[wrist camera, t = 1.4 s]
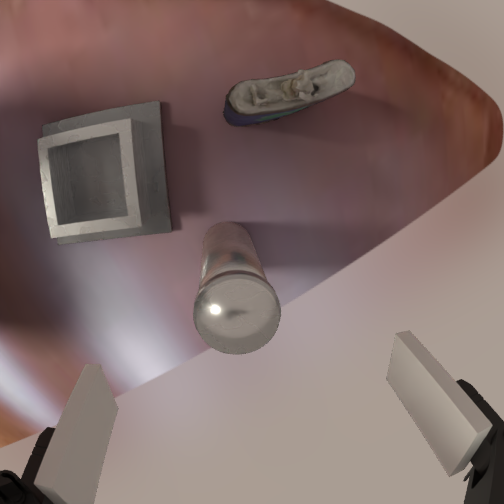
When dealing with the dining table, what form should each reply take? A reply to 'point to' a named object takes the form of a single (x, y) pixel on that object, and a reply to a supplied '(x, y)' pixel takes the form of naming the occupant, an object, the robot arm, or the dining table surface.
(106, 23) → the dining table surface
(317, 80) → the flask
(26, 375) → the dining table surface
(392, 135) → the dining table surface
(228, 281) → the silver canister
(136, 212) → the duct collar
